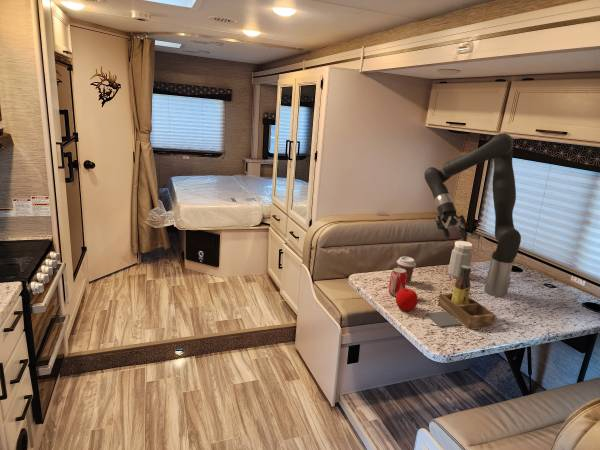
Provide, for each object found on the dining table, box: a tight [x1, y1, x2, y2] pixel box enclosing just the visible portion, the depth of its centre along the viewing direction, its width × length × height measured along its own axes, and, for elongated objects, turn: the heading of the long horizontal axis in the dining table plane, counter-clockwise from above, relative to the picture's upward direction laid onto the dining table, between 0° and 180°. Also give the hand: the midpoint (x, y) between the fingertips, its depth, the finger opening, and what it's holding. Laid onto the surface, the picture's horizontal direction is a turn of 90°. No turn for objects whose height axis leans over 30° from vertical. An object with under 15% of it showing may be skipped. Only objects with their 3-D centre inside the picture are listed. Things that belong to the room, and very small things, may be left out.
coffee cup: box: [396, 256, 417, 285], centre depth 192 cm, size 9×9×12 cm
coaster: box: [424, 310, 462, 328], centre depth 160 cm, size 10×10×1 cm
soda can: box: [388, 267, 407, 297], centre depth 178 cm, size 7×7×12 cm
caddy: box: [437, 292, 497, 329], centre depth 165 cm, size 12×20×5 cm, turn 16°
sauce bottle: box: [451, 265, 472, 305], centre depth 167 cm, size 7×6×20 cm
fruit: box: [395, 286, 419, 312], centre depth 166 cm, size 9×9×10 cm
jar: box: [447, 240, 473, 279], centre depth 204 cm, size 10×10×18 cm
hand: (456, 236), depth 175 cm, fingers open, 8 cm apart
